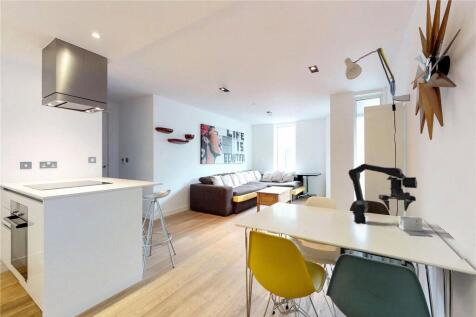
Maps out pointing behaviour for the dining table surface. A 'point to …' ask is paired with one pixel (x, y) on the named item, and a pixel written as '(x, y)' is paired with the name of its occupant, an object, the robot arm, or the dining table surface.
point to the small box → (410, 223)
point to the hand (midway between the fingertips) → (396, 210)
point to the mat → (416, 233)
